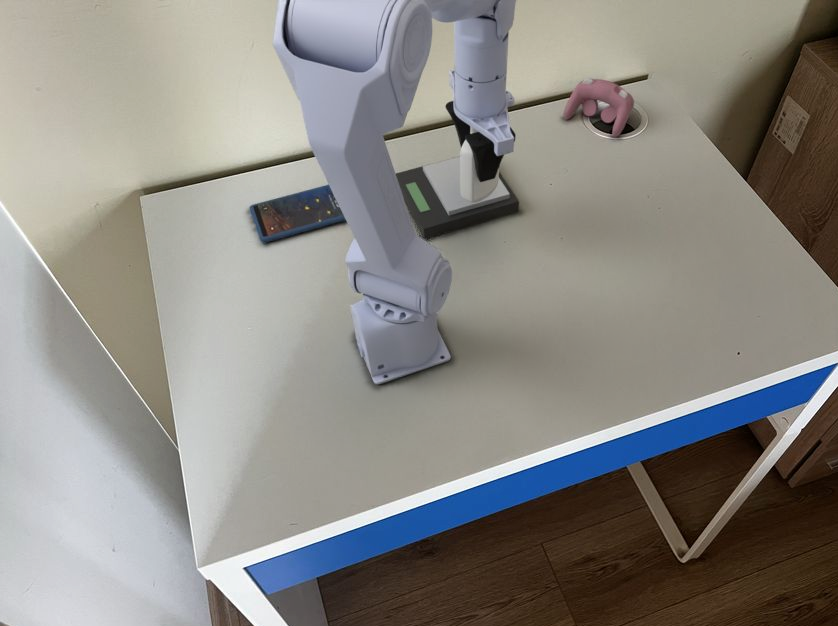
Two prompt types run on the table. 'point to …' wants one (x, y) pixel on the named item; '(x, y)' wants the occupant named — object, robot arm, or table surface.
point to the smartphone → (296, 213)
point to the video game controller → (604, 92)
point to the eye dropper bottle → (473, 176)
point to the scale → (449, 199)
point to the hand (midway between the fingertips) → (479, 167)
